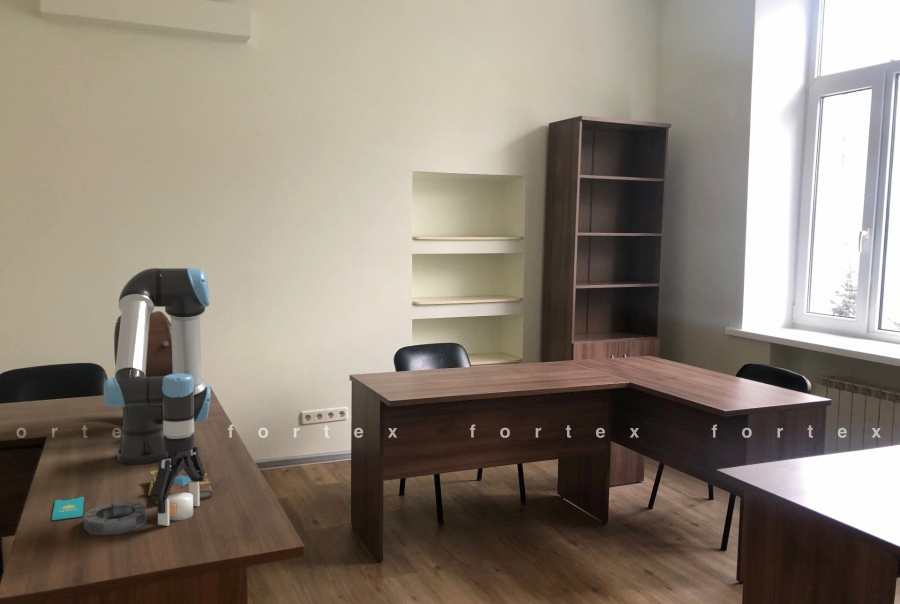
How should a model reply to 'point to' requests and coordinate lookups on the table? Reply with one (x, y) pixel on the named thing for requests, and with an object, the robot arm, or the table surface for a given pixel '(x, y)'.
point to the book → (184, 485)
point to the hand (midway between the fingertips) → (179, 514)
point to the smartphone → (68, 509)
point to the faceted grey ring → (102, 525)
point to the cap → (180, 506)
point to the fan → (154, 346)
